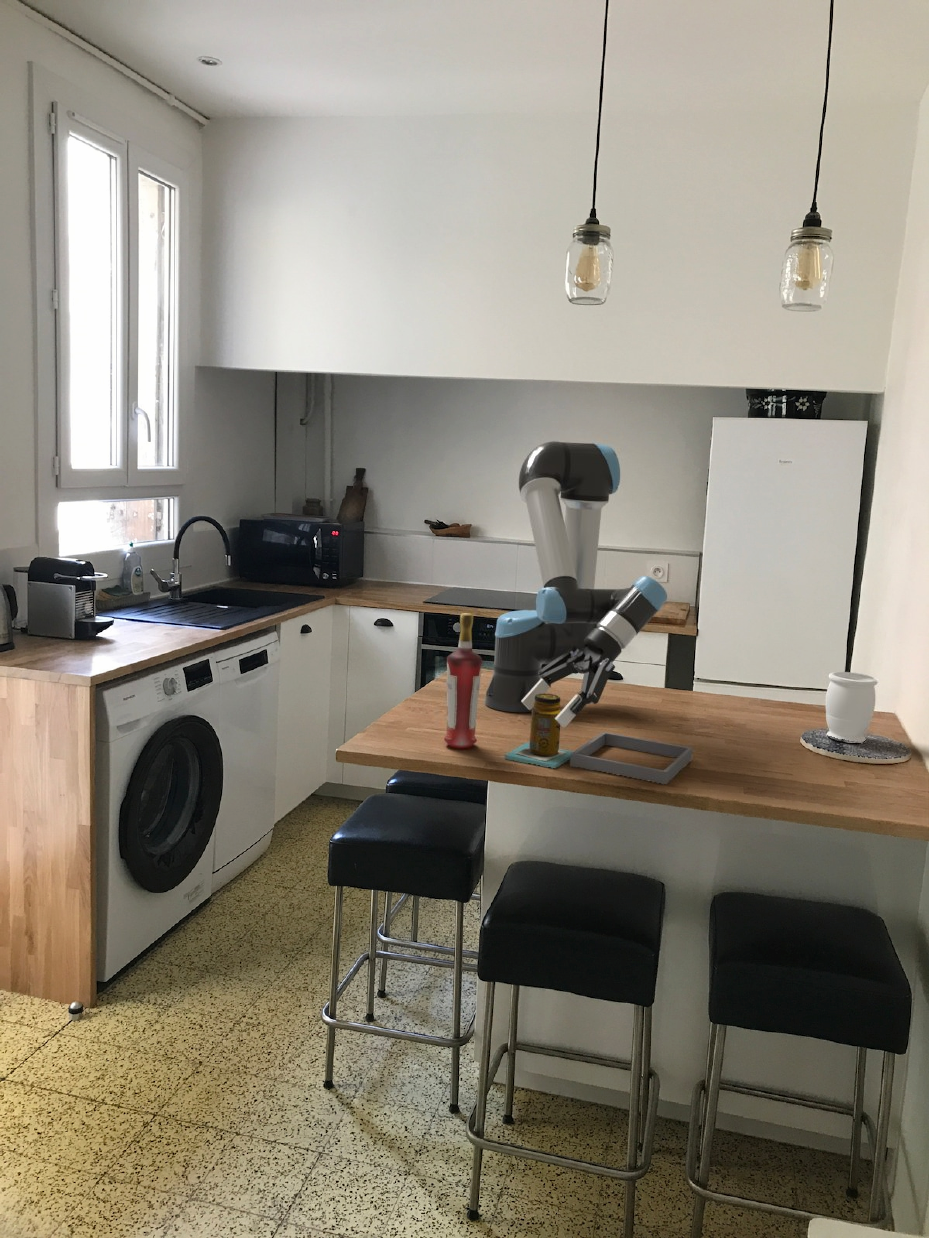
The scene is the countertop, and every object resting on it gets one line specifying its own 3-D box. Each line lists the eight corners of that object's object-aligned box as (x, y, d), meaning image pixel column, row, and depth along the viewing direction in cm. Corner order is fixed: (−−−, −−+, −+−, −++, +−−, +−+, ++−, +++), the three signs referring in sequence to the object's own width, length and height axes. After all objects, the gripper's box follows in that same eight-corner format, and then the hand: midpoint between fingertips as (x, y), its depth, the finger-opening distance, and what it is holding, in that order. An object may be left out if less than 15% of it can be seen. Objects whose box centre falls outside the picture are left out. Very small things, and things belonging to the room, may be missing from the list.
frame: (569, 765, 194) (570, 753, 193) (602, 742, 211) (603, 731, 210) (665, 784, 185) (666, 772, 184) (691, 759, 202) (692, 747, 202)
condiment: (566, 752, 200) (570, 696, 198) (545, 761, 193) (549, 703, 191) (536, 745, 204) (540, 690, 202) (514, 754, 197) (518, 696, 195)
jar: (877, 740, 224) (885, 677, 222) (860, 748, 217) (868, 683, 214) (832, 730, 231) (839, 669, 229) (814, 738, 224) (821, 674, 221)
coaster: (504, 758, 196) (504, 754, 196) (526, 745, 206) (526, 742, 206) (555, 768, 191) (555, 764, 191) (574, 755, 201) (575, 751, 201)
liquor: (441, 740, 207) (447, 611, 202) (475, 741, 207) (482, 612, 203) (443, 750, 199) (450, 616, 195) (479, 751, 200) (486, 618, 196)
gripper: (655, 663, 191) (585, 743, 187) (586, 638, 213) (522, 709, 209) (635, 638, 188) (564, 719, 184) (567, 615, 210) (502, 687, 206)
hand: (541, 714), depth 196 cm, fingers open, 13 cm apart
